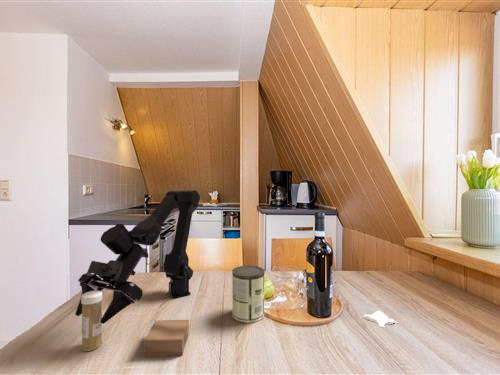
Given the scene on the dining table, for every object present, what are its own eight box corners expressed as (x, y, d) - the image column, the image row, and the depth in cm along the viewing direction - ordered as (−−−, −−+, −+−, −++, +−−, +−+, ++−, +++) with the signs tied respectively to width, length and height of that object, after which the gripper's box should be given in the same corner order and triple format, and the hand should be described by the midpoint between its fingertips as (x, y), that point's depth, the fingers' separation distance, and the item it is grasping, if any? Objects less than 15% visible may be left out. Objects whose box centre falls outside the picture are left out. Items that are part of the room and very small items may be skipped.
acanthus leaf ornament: (362, 320, 81) (362, 314, 81) (376, 314, 84) (376, 309, 84) (385, 331, 75) (385, 325, 75) (398, 325, 78) (399, 319, 78)
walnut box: (155, 335, 71) (155, 320, 71) (188, 334, 71) (188, 319, 71) (143, 356, 62) (144, 340, 62) (182, 355, 63) (182, 338, 62)
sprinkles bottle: (103, 347, 65) (103, 294, 65) (81, 354, 63) (81, 298, 62) (101, 338, 69) (101, 288, 69) (81, 344, 66) (81, 292, 66)
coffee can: (240, 304, 89) (241, 263, 89) (269, 310, 85) (269, 267, 85) (225, 318, 80) (226, 272, 80) (256, 326, 76) (256, 278, 76)
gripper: (85, 244, 73) (40, 298, 63) (134, 251, 66) (93, 314, 56) (109, 264, 81) (73, 316, 71) (156, 273, 73) (123, 332, 63)
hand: (89, 319), depth 65 cm, fingers open, 9 cm apart
